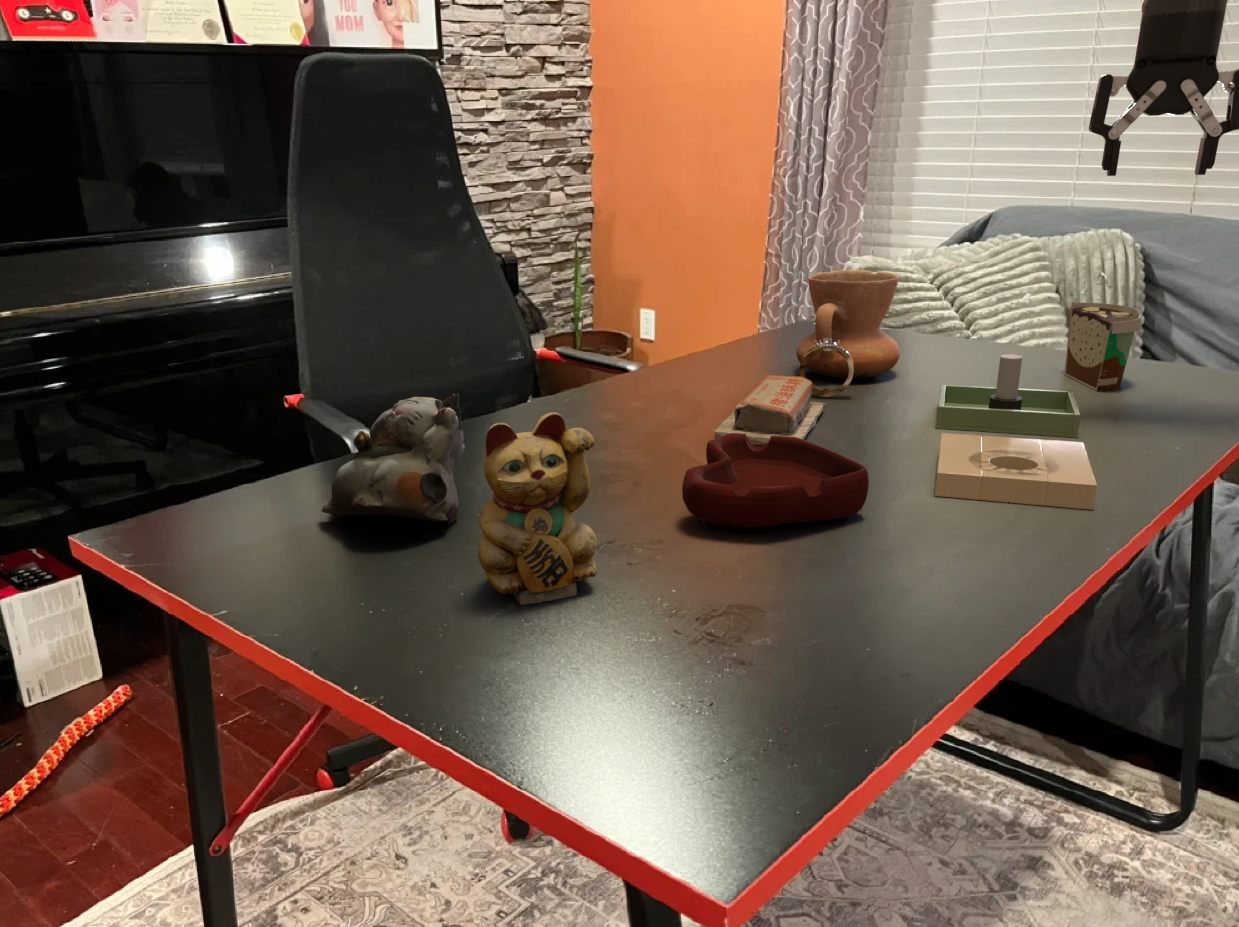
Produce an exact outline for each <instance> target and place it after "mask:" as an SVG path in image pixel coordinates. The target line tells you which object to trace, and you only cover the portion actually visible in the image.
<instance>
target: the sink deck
mask: <svg viewBox="0 0 1239 927" xmlns="http://www.w3.org/2000/svg"><path fill="white" fill-rule="evenodd" d="M939 440H940V441H939V448H938V449H939V450H938V459H937V468H936V469H937V470H936V477H935V488H934V496H935V497H942V498H953V499H955V498H956V499H965V500H975V501H976V500H977V501H987V502H997V503H998V502H999V503H1008V502H1009V504H1020V505H1033V506H1043V507H1055V508H1066V509H1078V510H1088V511H1090V510H1091V511H1094V508H1095V502H1096V496H1097V491H1098V484H1097V480H1096V478H1095V473H1094V471H1093V468H1092V465H1091V462H1090V460H1089V456H1088V453H1087V450H1086V447H1085V443H1084V442H1083V441H1082V442H1081V441H1067V440H1052V439H1037V438H1020V437H1009V436H1008V437H1007V436H992V435H991V436H990V435H979V434H977V435H976V434H965V433H963V434H962V433H949V432H941V433H940V439H939Z"/></svg>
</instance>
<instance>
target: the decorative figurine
mask: <svg viewBox="0 0 1239 927" xmlns="http://www.w3.org/2000/svg"><path fill="white" fill-rule="evenodd" d="M595 444H596V442H595V438H594V436H593V435H592V434H591V433H590V431H588V430H587V429H584V428H582V427H573V428H569V429H567V426H566V422H565V419H564V418H563V417H562V415H561V414H560V413H557V412H548V413H546V414H545V413H544V414H543V415H542V416H541V417H540V418H539V420H537V422H536V424H535V426H534V428H533V429H532V431H525V432H518V433H516V432H515V430H514V429H513V427H511V425H509V424H507V423H505V422H496V423H494V424H492V425H491V426H490V427H489V429H488V430H487V432H486V435H485V444H484V447H485V456H484V460H483V472H484V477H485V479H486V482H487V484H488V487H489V488H490V489H491V491H492V498H490V499H489V500H488V501H487V502H486V503H485V504H484V505H482V508H481V511H480V512H479V518H478V524H479V528H480V530H481V532H482V535H481V537H480V539H479V542H478V550H477V554H478V555H477V557H478V561H479V563H480V566H481V568H482V569H483V571H484V573H485V575H486V578H487V580H488V581H489V584H490V585H491V586H492V587H493V588H494V589H495V590H496V591H497V592H498V593H500V594H502V595H503V594H505V595H506V594H513V596H514V597H515V598H516V601H517V602H518V604H520V605H529V604H542V603H544V602H549V601H556V600H560V599H566V598H572V597H575V596H577V593H578V592H577V590H578V589H577V582H581V581H582V580H588V579H589V578H594V577H596V576H597V573H598V572H597V570H598V569H597V564H596V563H595V561H594V559H593V557H594V555H595V554H596V550H597V546H598V540H597V536H596V534H595V532H594V530H592V528H591V527H590V525H587V524H585V523H583V522H578V521H576V520H575V517H574V516H573V513H574V512H576V511H578V509H580V508H581V506H583V504H585V502H586V501H587V499H588V497H589V494H590V490H591V475H590V472H589V468H588V465H587V461H586V456H585V452H586V451H587V452H588V451H589V450H590V449H591V448H593V447H594V446H595Z"/></svg>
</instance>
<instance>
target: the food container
mask: <svg viewBox="0 0 1239 927" xmlns="http://www.w3.org/2000/svg"><path fill="white" fill-rule="evenodd" d="M1067 317H1068V318H1069V323H1068V332H1067V333H1068V334H1067V343H1066V354H1065V365H1064V374H1063V376H1065V377H1067V378H1070V379H1072V380H1074V381H1076V383H1077V382H1078V383H1079V384H1081V385H1083V386H1085V387H1087V388H1090V390H1094V391H1095V392H1107V391H1113V390H1116V389H1118V388H1120V387H1121V386H1122V381H1123V378H1124V373H1125V369H1126V366H1127V362H1128V358H1129V355H1130V351H1131V348H1132V343H1133V340H1134V336H1135V333H1136V332H1137V331H1140V330H1141V329H1142V316H1141V315H1140V310H1139V309H1137V308H1134V307H1131V306H1126V305H1120V304H1115V303H1104V302H1071V304H1070V307H1069V310H1068V315H1067Z"/></svg>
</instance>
